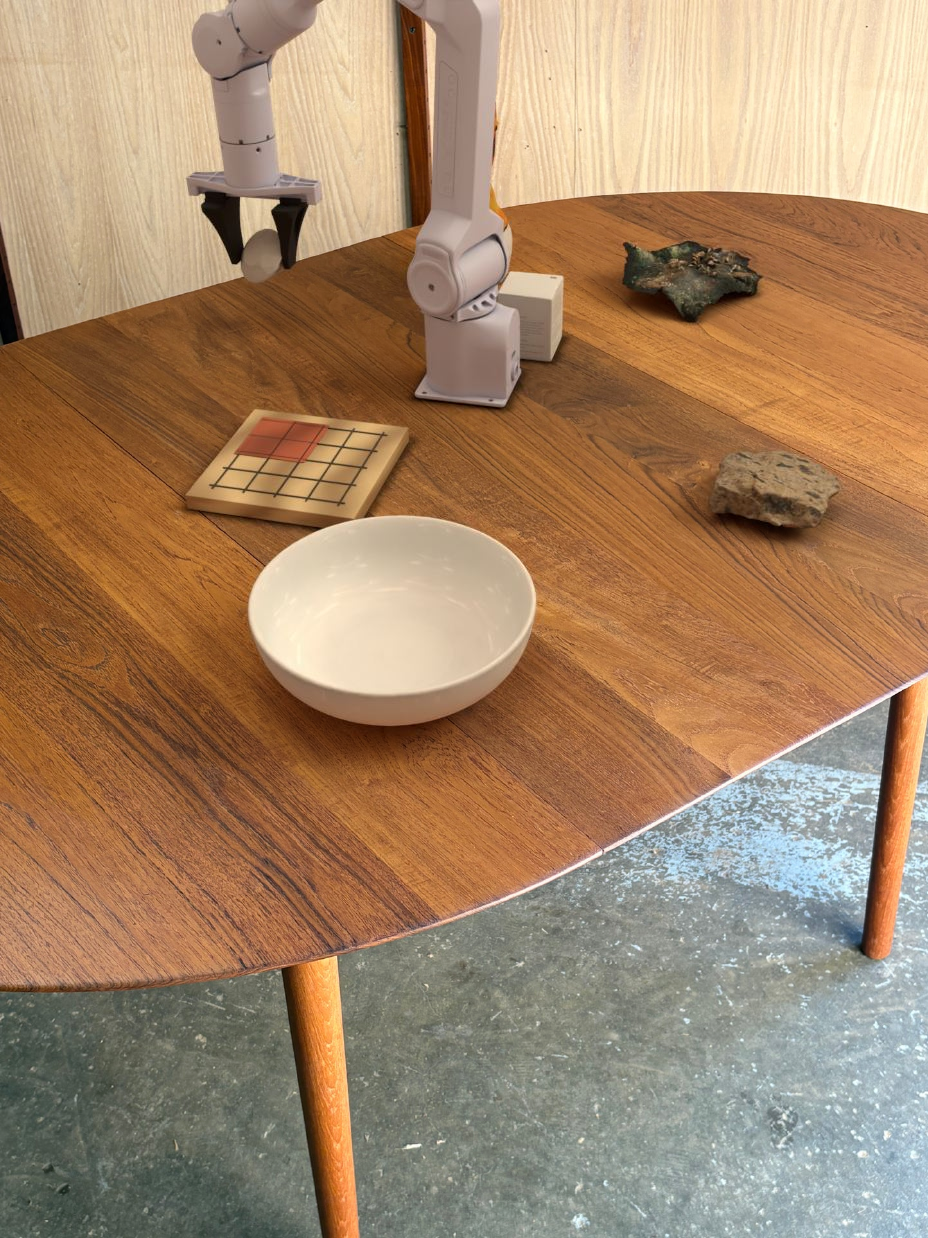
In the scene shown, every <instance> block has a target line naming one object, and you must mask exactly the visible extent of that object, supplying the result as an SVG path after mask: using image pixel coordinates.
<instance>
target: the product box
mask: <svg viewBox="0 0 928 1238" xmlns="http://www.w3.org/2000/svg"><path fill="white" fill-rule="evenodd" d="M564 280H565V279H564V275H558V274H549V273H548V274H547V273H538V272H537V273H536V272H535V273H534V272H526V271H525V272H524V271H508V273H507V275H506V277H505V278H504V280H503V283H502V284H501V286H500V288H498V296H497V297H496V302H498V303H499V304H501V305H503V306H506V307H510V308H514V309H517V310H518V312H519V317H520V360H523V359H524V360H531V361H538V362H552V360H553V358H554V356H555V353H556V352H557V349H558V346H559V344H560V342H561V340H562V337H563V317H564V316H563V315H564V313H563V312H564Z"/></svg>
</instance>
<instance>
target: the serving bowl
mask: <svg viewBox="0 0 928 1238" xmlns="http://www.w3.org/2000/svg"><path fill="white" fill-rule="evenodd" d="M536 591H537V590H536V588H535V585H534V581H533V578H532V576H531V574H530V572H529V570H527V567H526V566H525V565H524V564H523V562H522V561H521V560H520V558H518V557H517V555H516V554H515V553H514V552H513V551H512V550H510V549H509V548H508V547H506V545H504V544H503V543H501V542H500V541H498V540H496V539H495V538H493V537H492V536H490V535H488V534H486V533H484V532H482V531H479V530H477V529H475V528H472V527H470V526H468V525H464V524H461V523H457V522H454V521H451V520H446V519H440V518H436V517H430V516H418V515H382V516H371V517H364V518H363V519H357V520H352V521H348V522H343V523H340V524H336V525H333V526H330V527H327V528H320V529H319V530H316V531H314V532H311V533H310V534H307V535H306V536H304V537H302V538H300V539H298V540H297V541H295V542H293V543H292V544H290V545H289V546H287V547H286V548H284V549H283V550H282V551H280V552H279V553H278V554H277V555H276V556H275V557H273V558H272V559H271V560H270V561H269V562H268V563H267V565H265V567H263V569H262V571H261V572H260V573H259V575H258V576H257V577H256V580H255V581H254V583H253V586H252V588H251V590H250V593H249V597H248V602H247V619H248V625H249V629H250V633H251V637H252V638H253V641H254V644H255V647H256V649H257V651H258V653H259V656H260V658H261V659H262V661H263V662H264V664H265V666H266V668H267V670H268V671H269V672H270V673H271V675H272V676H273V677H274V678H275V680H276V681H277V682H278V683H279V684H280V685H281V686H282V687H283V688H284V689H285V690H286V691H287V692H289V693H290V694H291V695H292V696H293V697H295V698H296V699H298V700H299V701H300V702H302V703H304V704H305V705H307V706H309V707H311V708H313V709H315V710H316V711H319V712H321V713H324V714H325V715H328V716H331V717H334V718H336V719H340V720H344V721H346V722H351V723H356V724H361V725H362V724H363V725H369V726H380V727H381V726H384V727H397V726H409V725H417V724H423V723H426V722H431V721H435V720H439V719H441V718H445V717H448V716H450V715H453V714H457V713H458V712H460V711H463V710H464V709H466V708H468V707H470V706H472V705H474V704H476V703H477V702H479V701H480V700H482V699H484V698H485V697H487V695H489V694H491V692H493V691H494V690H495V689H496V688H497V687H498V686H500V685H501V684H502V683H503V682H504V681H505V679H506V678H507V677H508V676H509V675H510V674H511V672H512V671H513V670H514V669H515V667H516V666H517V664H518V662H519V661H520V659H521V657H522V656H523V654H524V652H525V650H526V648H527V645H528V642H529V641H530V637H531V633H532V630H533V626H534V623H535V617H536V614H537V613H536V612H537V593H536Z"/></svg>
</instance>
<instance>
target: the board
mask: <svg viewBox="0 0 928 1238" xmlns="http://www.w3.org/2000/svg"><path fill="white" fill-rule="evenodd" d="M409 431H410V429H409V427H407V426H399V425H391V424H390V425H389V424H382V423H373V422H367V421H366V422H365V421H357V420H351V419H350V420H348V419H341V418H334V417H333V418H332V417H325V416H324V417H323V416H317V415H308V414H299V413H291V412H282V411H275V410H267V409H258V408H254V409H253V410H252V412H251V413H250V414H249V415H248V417H247V418H246V419H245V420H244V422H243V423H242V424H241V425H240V427H239V428H238V429H237V430H236V431H235V433H234V434H233V435H232V436H231V438H230V439H229V440H228V441H227V443H226V444H225V445H224V446H223V448H222V449H221V450H220V451H219V452H218V453H217V455H216V456H215V457H214V459H213V460H212V461H211V462H210V464H209V465H208V466H207V467H206V468H205V470H204V471H203V472H202V474H201V475H200V476H199V477H198V478H197V479H196V480H195V482H194V483H193V484H192V486H191V487H190V488H189V489H188V491H187V492H186V493H185V495H184V496H185V502H186V507H187V509H188V510H194V511H202V512H207V513H215V514H223V515H229V516H237V517H243V518H250V519H257V520H265V521H272V522H280V523H287V524H292V525H299V526H307V527H314V528H320V529H324V528H327V527H330V526H333V525H336V524H340V523H343V522H348V521H352V520H357V519H363V518H365V516H366V514H367V513H368V511H369V509H370V508H371V506H372V504H373V503H374V501H375V499H376V498H377V497H378V494H379V492H380V491H381V489H382V487H383V486H384V484H385V483H386V481H387V479H388V477H389V475H390V474H391V472H392V470H393V468H394V467H395V465H396V464H397V462H398V460H399V458H400V457H401V455H402V454H403V452H404V450H405V448H406V447H407V445H408V443H409V442H410V434H409V433H410V432H409Z"/></svg>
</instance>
